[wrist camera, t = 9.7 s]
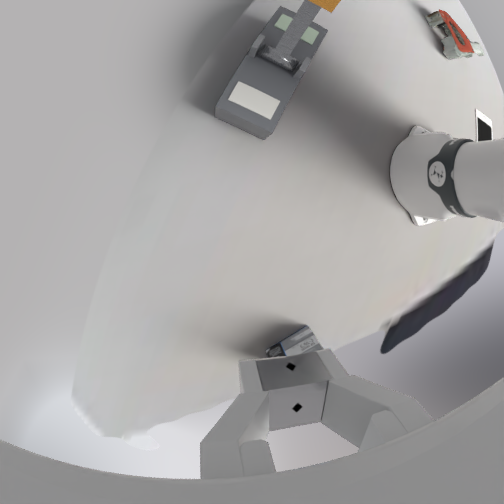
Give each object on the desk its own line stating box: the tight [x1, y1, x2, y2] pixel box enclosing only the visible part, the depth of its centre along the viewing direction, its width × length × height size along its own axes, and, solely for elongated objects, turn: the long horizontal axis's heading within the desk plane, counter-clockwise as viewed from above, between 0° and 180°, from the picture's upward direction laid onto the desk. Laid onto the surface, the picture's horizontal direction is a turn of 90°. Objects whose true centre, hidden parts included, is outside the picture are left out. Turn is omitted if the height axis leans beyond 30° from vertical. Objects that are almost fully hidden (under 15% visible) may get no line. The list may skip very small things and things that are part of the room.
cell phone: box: [475, 109, 492, 141], centre depth 45 cm, size 8×16×1 cm, turn 172°
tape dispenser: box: [425, 10, 484, 59], centre depth 36 cm, size 18×5×20 cm
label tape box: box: [266, 326, 323, 358], centre depth 42 cm, size 9×4×12 cm, turn 120°
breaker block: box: [215, 6, 328, 140], centre depth 32 cm, size 20×8×9 cm, turn 154°
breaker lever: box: [258, 0, 341, 72], centre depth 24 cm, size 3×5×14 cm, turn 64°
